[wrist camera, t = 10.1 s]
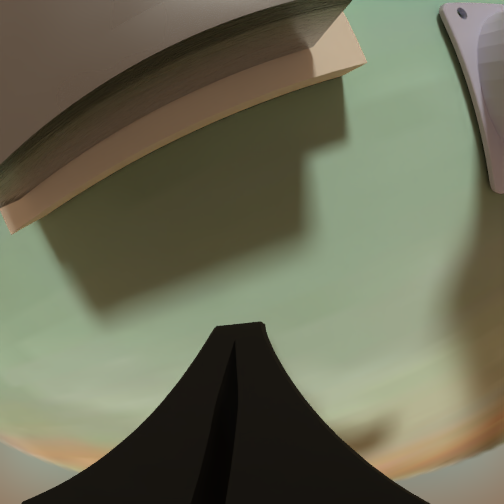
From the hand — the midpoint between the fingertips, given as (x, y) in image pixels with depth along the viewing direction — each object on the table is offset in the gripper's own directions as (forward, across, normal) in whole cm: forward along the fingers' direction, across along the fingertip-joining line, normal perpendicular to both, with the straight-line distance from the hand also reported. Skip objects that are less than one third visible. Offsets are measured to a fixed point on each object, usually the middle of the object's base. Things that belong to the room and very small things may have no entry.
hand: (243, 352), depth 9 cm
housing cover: (+1, +3, -11) cm, 11 cm away
